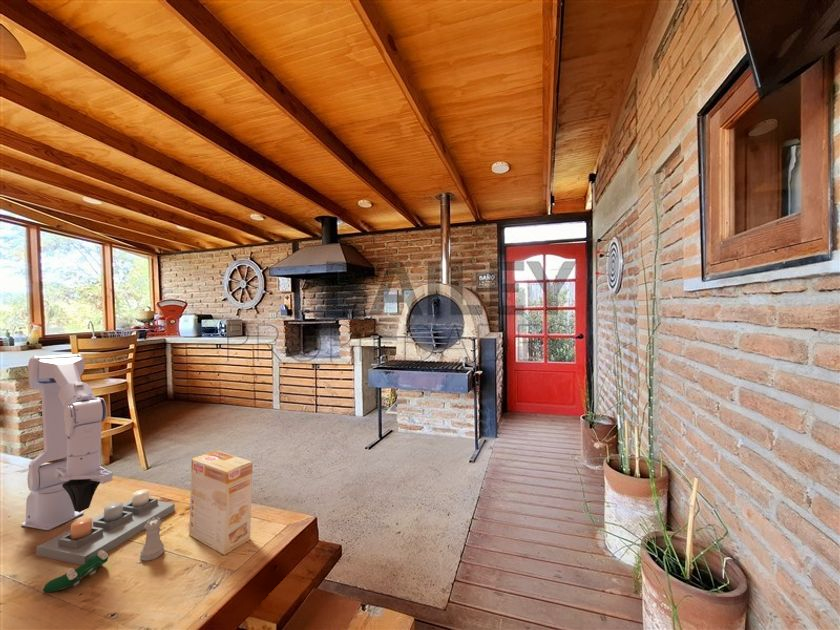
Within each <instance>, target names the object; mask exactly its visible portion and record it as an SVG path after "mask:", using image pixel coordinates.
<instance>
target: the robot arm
mask: <svg viewBox="0 0 840 630" xmlns="http://www.w3.org/2000/svg"><path fill="white" fill-rule="evenodd" d="M85 363H86V362H85V358H84V356H83V355H82V353H74V354H73V353H72V354H71V353H70V354H58V355H57V354H56V355H33V356H32V357H30V358H29V359H28V366H27V367H28V368H27V372H28V373H27V374H28V378H27V379H28V385H29V388H30V389H33V390H36V391H37V390H38V392H39V395H40V398H41V414H42V415H41V416H42V417H41V419H42V434H43V435H42V439H43V452H41V453H40V454H39V455H37V456H36V457H34V458H33V459H32V460H31V461H30V463H29V464H28V472H27V487H28V490H29V491H30V492H29V494H28V495H27V497H26V502H25V506H26V508H25V521H23V522H21V523H20V525H21V526H23V527H28V528H33V529H38V530H43V531H50V530H53V529H55V528H57V527H59V526H61V525H63V524H65V523H67V522H69V521H71V520H74V519H75V518H77V517H79V516H82V515H83V514H84V513H85V512H84V510H86V509H87V510H88V509H89V508H90V506H91V503H92V501H93V497H94V494H95V493H96V490H97V489H98V487H99V486H100V484H101V485H105V484H106V483H108V482H111V481H113V474H114V473H113V471H110V470H107V469H106V468H104V467H103V466H101V451H102V450H101V448H102V424H103V422H105V421H106V418H107V413H108V412H107V411H108V410H107V404H106V401H105V399H104V398H103V397H100V396H97V397H96V395H95V393H94V392H93V390H92V388H91V386H90V385H89V384H88V383H87V382H84V381H82V379H81V376H82V374H83V373H84V371H85ZM61 459H62V460H61ZM56 460H58V461H56ZM53 461H54V462H53ZM48 462H50V463H48Z"/></svg>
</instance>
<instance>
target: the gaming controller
mask: <svg viewBox="0 0 840 630" xmlns="http://www.w3.org/2000/svg"><path fill="white" fill-rule="evenodd" d="M108 561H109V554H108V552H105V551H103V550H100V551H99V552H98V554H96V555H93V556H91V557H90V558H89V560H88V562H87V563H85V564H84V565H80V566H79V567H77V568H75V569H74V568H73V567H70V568H68V569H67V572H65V574H63V575H60V576H58V577H55V578H53V579H51V580H50V581H48V582H47V583H45V585H43V589H42V592H44V593H52V592H53V593H54V592H58V591H60V590H64V589H65V588H69V587H70V586H73V587H75V586H77V585H78V584H80V582H81V581H80V580H81V579H82V578H83V577H85V576H89V577H91V576H92V575H94V574H96V572H97V568H99V567H101V566H103V565H104V564H105V563H107V562H108Z"/></svg>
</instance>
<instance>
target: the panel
mask: <svg viewBox="0 0 840 630" xmlns="http://www.w3.org/2000/svg"><path fill="white" fill-rule="evenodd" d="M122 503H123V516H122V517H121V518H119V519H117V520H115V521H112V522H104V512H103V513H100V514H98V515H96V516H95V517H93V518H92V517H91V518H92V533H91V534H89V535H88V536H86V537H84V538H82V539H78V540H72V539H71V529H69V530H67V531H64V532H62V533H61V534H59V535H57V536H54V537H53V538H51V539H49V540H47V541H44V542H42V544H39V545H37V546H36V552H35V553H36V556H38V557H43V558H48V559H53V560H56V561H61V562H62V561H63V562H66V563H70V564H71V563H72V564H75V565H80V566H82V565H84V564H85V563H87V562H88V560H89V558H90V557H91V556H93V555H96V554H98V552H99V551H100V550H103V551H105V552H106V553H108V552H109V551H111V550H112V549H114V548H116V547H118V546H119V545H121V544H122V543H124V542H126V541H128V540H129V539H131V538H132V537H134V536H135V535H137V534H139V533H141V532H143V530H146V529H145V528H144V526H145V525H146V524H147V522H148V520H149V519H150V520H151V521H152V518H155V519H156V518H157V517H159V518H160V520H162V519H163V518H165V517H166V516H168V515H169V514H172V513H173V512H174V511H175V506H176V505H175V503H173V502H167V501H160V500H159V499H158V498H155V497H150V496H149V502H148V503H147V504H145V505H143V506H140V507H132V498H130V499H128V500H126V501H124V502H122Z"/></svg>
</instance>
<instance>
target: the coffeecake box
mask: <svg viewBox="0 0 840 630" xmlns="http://www.w3.org/2000/svg"><path fill="white" fill-rule="evenodd" d="M253 463H254V462H253V461H252V460H248V459H245V458H243V457H239V456H237V455H232V454H229V453H227V452H224V451H221V450H214V451H210V452H208V453H205V454H202V455H199V456H195V457H193V458H191V469H190V474H191V475H190V499H189V501H190V503H189V505H190V506H189V527H188V528H189V531H188V533H189V534H188V536H190V537H192V538H194V539H196V540H197V541H199V542H201V543H203V544H205V545H206V546H208V547H210V549H213V550H215V551H216V552H219V553H220V554H222V555H224V556H225V555H227V554H228V553H230V552H232V551H233V550H234V549H236V548H238V547H240V546H242V545H243V544H245V543H247V542H248V541H251V527H252V526H251V524H252V523H251V522H252V518H251V517H252V493H253V492H252V490H253Z"/></svg>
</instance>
